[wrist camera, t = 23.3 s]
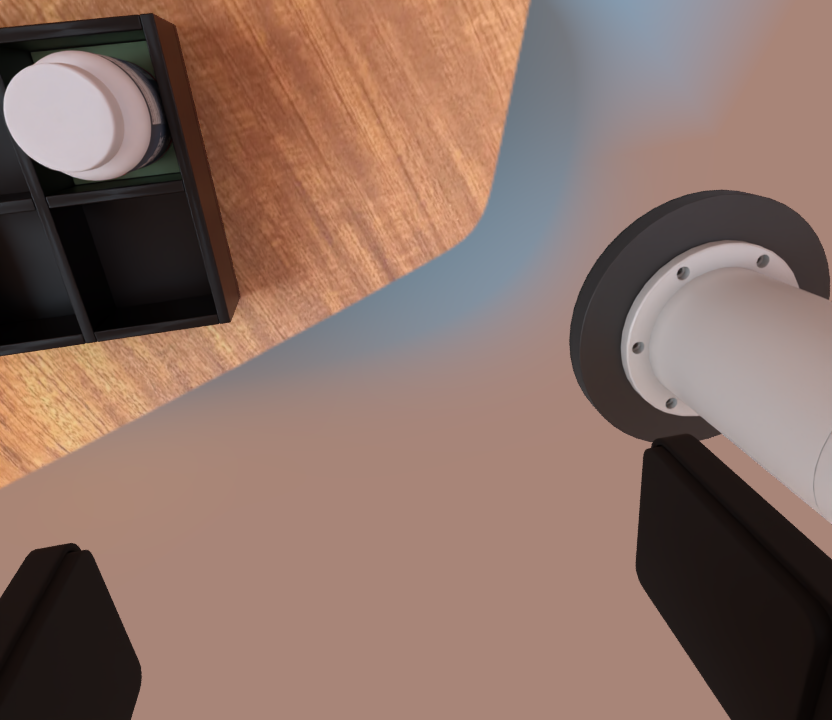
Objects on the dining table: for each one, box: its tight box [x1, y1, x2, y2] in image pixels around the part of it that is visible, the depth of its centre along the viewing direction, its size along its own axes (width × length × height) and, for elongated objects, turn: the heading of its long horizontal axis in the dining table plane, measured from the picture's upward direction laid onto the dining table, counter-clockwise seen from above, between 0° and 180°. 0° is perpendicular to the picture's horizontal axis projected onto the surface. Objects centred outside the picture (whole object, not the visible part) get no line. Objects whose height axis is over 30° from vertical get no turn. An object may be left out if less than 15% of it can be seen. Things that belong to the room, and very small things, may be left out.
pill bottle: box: [4, 51, 172, 181], centre depth 27 cm, size 5×5×9 cm
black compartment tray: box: [0, 13, 240, 356], centre depth 30 cm, size 15×15×5 cm
